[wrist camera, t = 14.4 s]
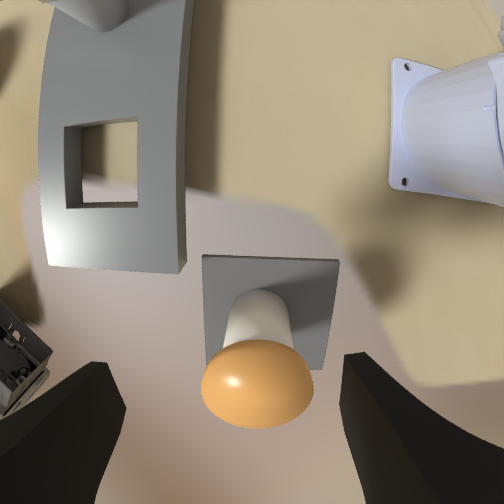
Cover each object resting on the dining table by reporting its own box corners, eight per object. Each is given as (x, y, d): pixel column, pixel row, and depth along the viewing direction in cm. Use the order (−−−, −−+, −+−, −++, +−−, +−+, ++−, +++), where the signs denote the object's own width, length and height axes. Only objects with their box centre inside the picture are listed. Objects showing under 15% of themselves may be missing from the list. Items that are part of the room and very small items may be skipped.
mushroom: (283, 268, 18) (294, 335, 11) (307, 333, 19) (324, 413, 13) (207, 294, 19) (181, 367, 12) (237, 355, 20) (228, 436, 13)
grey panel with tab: (199, -43, 12) (174, -110, 5) (186, 261, 18) (147, 323, 12) (77, -16, 12) (21, -54, 5) (64, 255, 19) (-3, 299, 12)
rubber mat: (338, 259, 18) (340, 261, 18) (321, 366, 21) (322, 369, 20) (203, 254, 18) (201, 256, 18) (207, 362, 21) (206, 366, 20)
